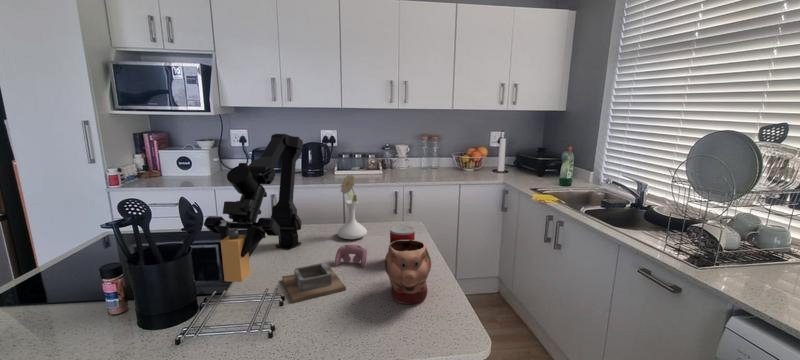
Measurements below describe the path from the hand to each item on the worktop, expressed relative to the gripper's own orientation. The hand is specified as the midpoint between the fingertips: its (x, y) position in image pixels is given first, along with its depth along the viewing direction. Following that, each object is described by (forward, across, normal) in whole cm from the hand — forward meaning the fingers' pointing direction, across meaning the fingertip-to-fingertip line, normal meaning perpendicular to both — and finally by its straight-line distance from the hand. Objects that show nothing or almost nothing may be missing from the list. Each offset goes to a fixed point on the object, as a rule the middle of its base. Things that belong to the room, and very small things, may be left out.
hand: (232, 256), depth 92 cm
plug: (+4, 0, +6) cm, 7 cm away
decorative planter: (+4, +44, +12) cm, 46 cm away
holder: (+2, +18, +13) cm, 23 cm away
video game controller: (-8, +26, +24) cm, 36 cm away
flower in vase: (-24, +21, +40) cm, 52 cm away
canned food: (-10, +42, +26) cm, 50 cm away
